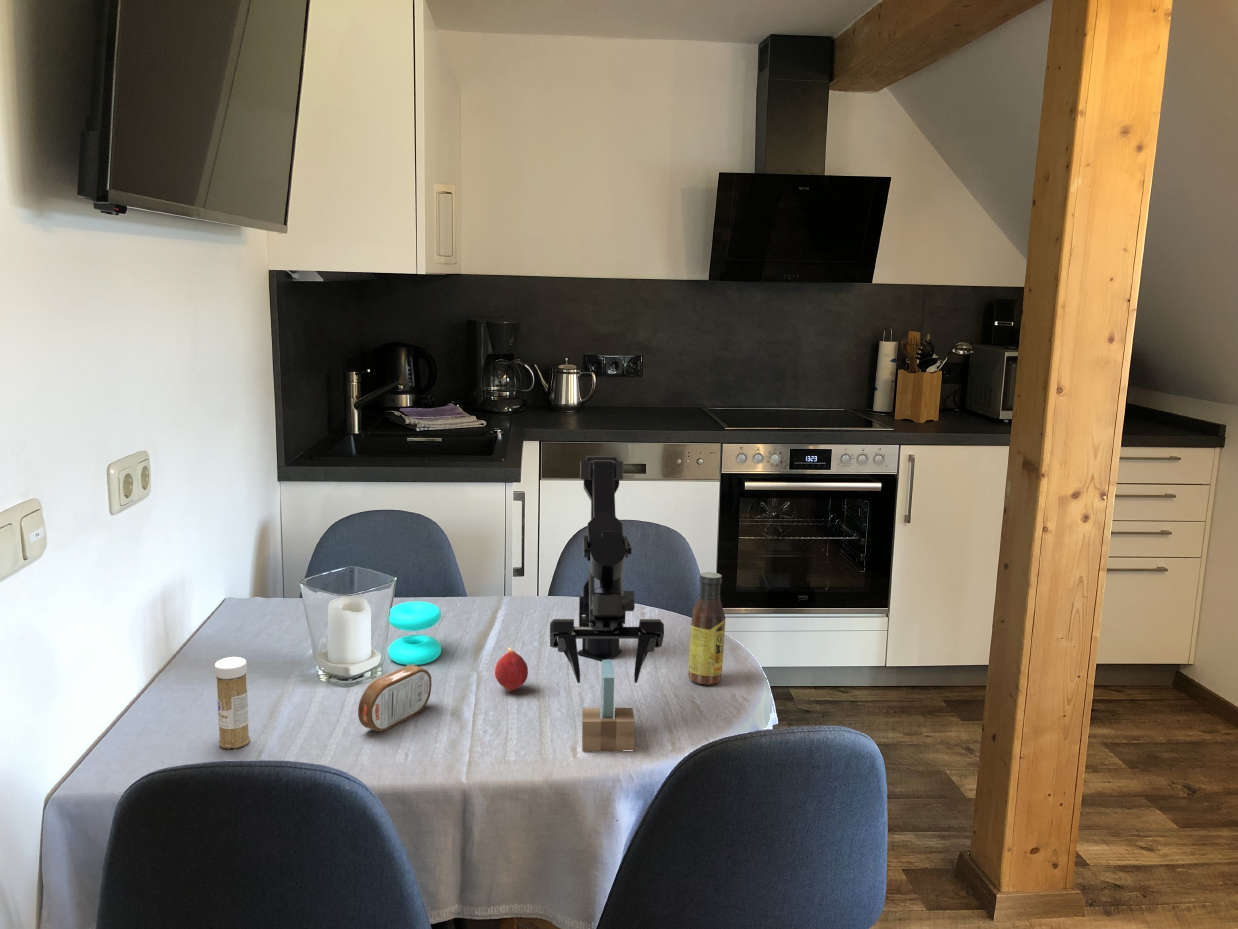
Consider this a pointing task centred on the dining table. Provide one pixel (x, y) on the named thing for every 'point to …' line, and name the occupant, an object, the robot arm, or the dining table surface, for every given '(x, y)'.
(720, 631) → the sauce bottle
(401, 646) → the donuts
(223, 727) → the sprinkles bottle
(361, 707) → the tin
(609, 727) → the clip block
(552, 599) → the dining table surface
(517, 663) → the onion
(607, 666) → the pale blue slab box
